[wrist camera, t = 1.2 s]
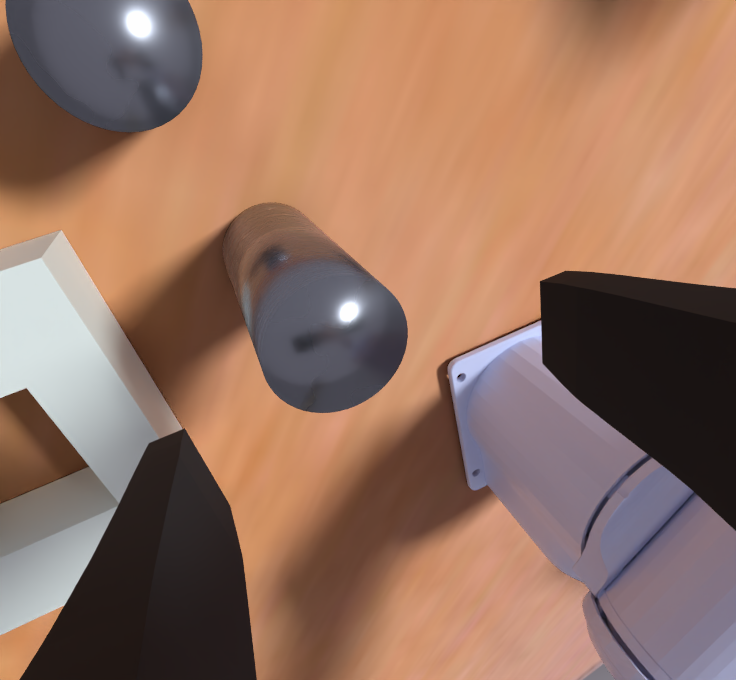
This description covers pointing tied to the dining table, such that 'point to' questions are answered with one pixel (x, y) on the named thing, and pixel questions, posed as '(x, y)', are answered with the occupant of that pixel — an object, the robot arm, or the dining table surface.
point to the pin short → (110, 57)
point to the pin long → (312, 311)
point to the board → (67, 420)
